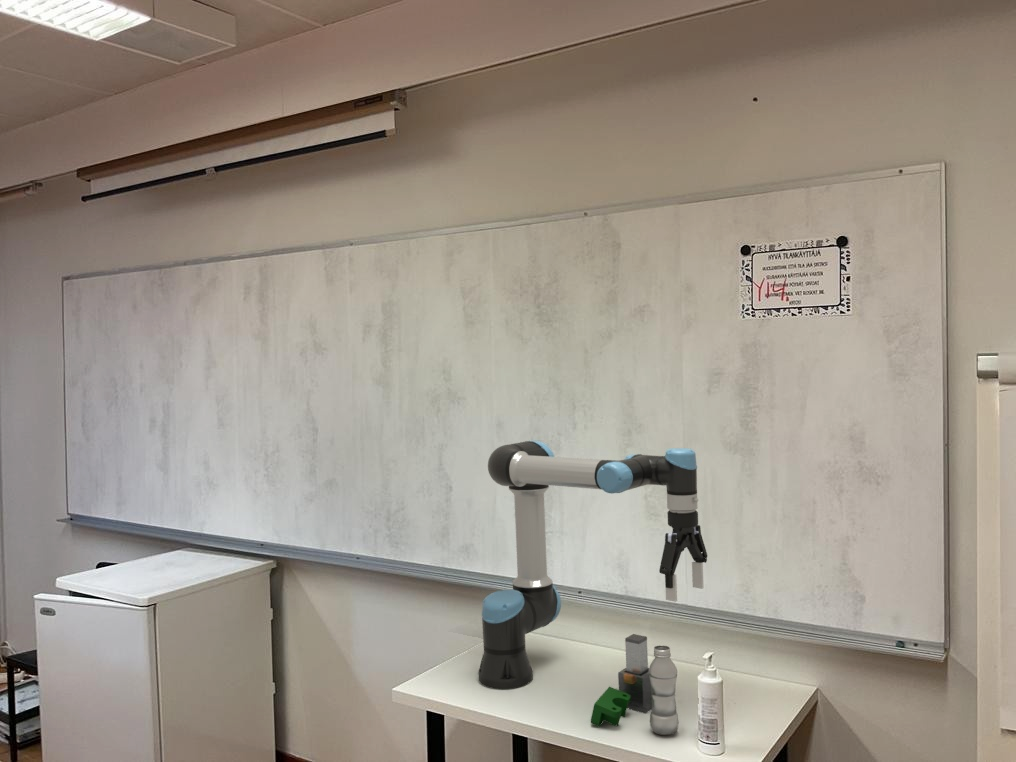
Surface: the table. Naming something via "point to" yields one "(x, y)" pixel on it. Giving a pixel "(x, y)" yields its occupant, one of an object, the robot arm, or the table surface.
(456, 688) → the table surface
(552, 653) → the table surface
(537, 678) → the table surface
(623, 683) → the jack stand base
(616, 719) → the clamp
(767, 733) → the table surface
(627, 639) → the column
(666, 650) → the plastic bottle
